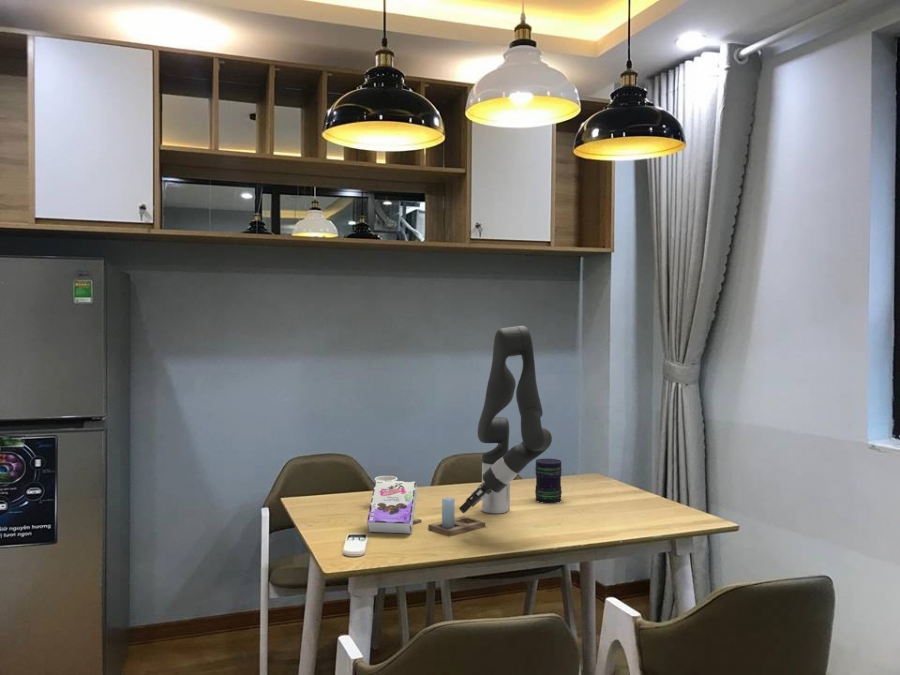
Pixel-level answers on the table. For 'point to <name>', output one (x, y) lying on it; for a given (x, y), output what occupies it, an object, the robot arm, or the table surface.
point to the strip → (416, 520)
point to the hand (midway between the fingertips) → (466, 507)
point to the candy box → (392, 507)
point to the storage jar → (548, 480)
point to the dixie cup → (386, 478)
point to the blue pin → (448, 513)
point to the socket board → (458, 526)
